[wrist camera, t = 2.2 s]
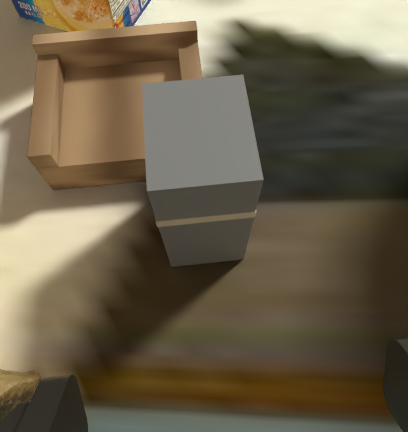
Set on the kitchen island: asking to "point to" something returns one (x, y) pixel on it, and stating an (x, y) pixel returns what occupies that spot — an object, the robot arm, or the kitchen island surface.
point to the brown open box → (101, 99)
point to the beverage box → (82, 13)
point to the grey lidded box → (201, 167)
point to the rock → (15, 390)
